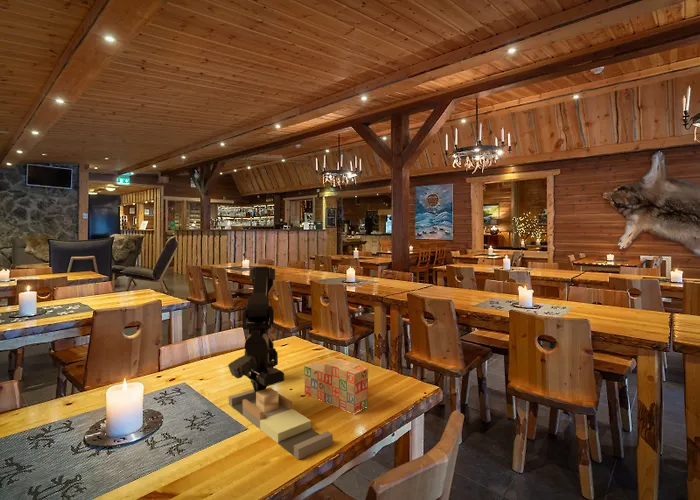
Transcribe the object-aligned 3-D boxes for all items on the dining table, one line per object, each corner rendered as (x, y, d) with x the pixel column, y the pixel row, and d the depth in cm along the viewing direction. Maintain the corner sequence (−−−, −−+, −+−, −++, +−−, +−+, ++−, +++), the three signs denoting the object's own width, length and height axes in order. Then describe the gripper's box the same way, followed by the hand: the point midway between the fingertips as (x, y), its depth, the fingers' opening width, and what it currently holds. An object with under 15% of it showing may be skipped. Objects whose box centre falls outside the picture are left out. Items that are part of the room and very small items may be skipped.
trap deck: (259, 395, 125) (258, 381, 125) (332, 444, 98) (332, 426, 97) (228, 404, 119) (228, 389, 119) (298, 459, 91) (298, 440, 91)
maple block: (270, 402, 115) (270, 387, 114) (278, 408, 111) (278, 392, 111) (256, 407, 112) (256, 391, 111) (264, 413, 108) (264, 397, 108)
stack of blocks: (303, 394, 127) (303, 356, 126) (318, 388, 132) (318, 351, 131) (354, 415, 113) (354, 373, 112) (368, 408, 117) (368, 367, 117)
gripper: (218, 343, 116) (218, 395, 116) (247, 359, 102) (248, 419, 102) (253, 336, 123) (253, 386, 124) (285, 351, 109) (285, 406, 110)
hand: (259, 398), depth 115 cm, fingers closed
